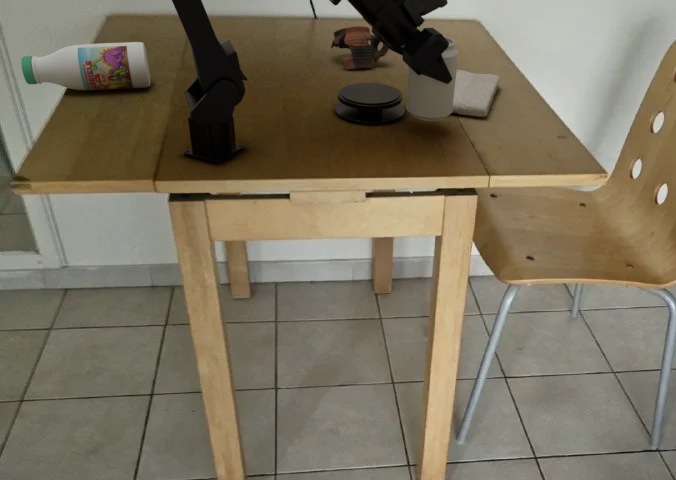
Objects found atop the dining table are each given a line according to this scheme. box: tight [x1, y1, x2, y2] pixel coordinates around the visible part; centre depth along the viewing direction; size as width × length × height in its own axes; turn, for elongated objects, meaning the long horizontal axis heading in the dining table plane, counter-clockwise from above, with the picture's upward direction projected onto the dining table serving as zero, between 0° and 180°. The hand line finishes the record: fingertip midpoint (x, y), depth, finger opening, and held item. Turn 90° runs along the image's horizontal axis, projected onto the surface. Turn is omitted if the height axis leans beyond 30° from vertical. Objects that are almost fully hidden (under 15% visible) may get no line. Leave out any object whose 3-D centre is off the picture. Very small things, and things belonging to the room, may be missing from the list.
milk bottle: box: [21, 41, 151, 91], centre depth 124 cm, size 8×8×20 cm
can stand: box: [334, 82, 406, 126], centre depth 122 cm, size 12×12×3 cm
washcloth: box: [451, 69, 501, 118], centre depth 129 cm, size 12×18×3 cm, turn 167°
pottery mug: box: [330, 25, 390, 71], centre depth 143 cm, size 12×10×8 cm
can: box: [405, 35, 459, 122], centre depth 112 cm, size 8×8×12 cm
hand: (440, 73), depth 112 cm, fingers closed on can, 7 cm apart
